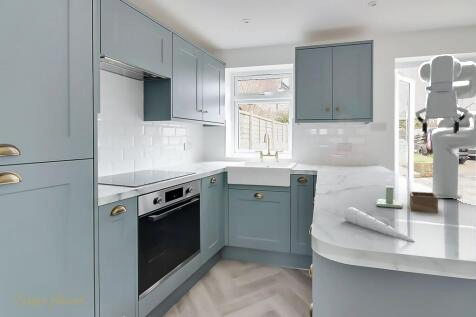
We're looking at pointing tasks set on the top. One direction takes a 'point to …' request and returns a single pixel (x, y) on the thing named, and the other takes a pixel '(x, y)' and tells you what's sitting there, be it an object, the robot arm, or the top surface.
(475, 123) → the robot arm
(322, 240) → the top surface
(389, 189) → the mint green stepped block
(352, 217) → the unicorn horn
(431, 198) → the box
